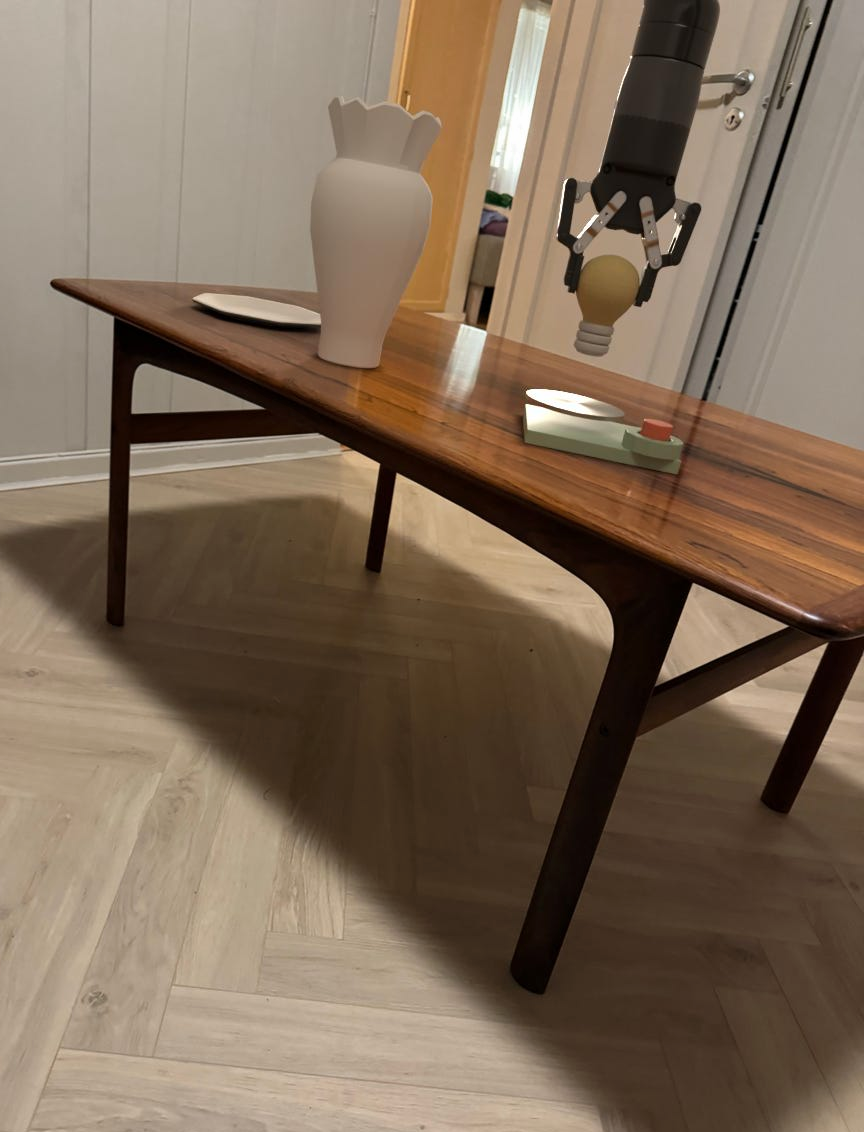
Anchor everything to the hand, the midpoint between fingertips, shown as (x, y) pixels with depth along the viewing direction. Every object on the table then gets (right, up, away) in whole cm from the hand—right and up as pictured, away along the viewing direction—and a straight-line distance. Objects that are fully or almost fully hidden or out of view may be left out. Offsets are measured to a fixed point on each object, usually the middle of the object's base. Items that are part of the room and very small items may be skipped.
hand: (604, 298), depth 95 cm
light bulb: (-1, -5, +3) cm, 6 cm away
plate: (-42, +13, +42) cm, 61 cm away
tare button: (+5, -15, -1) cm, 16 cm away
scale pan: (-2, -10, +5) cm, 11 cm away
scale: (0, -14, +5) cm, 15 cm away
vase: (-28, 0, +23) cm, 36 cm away
